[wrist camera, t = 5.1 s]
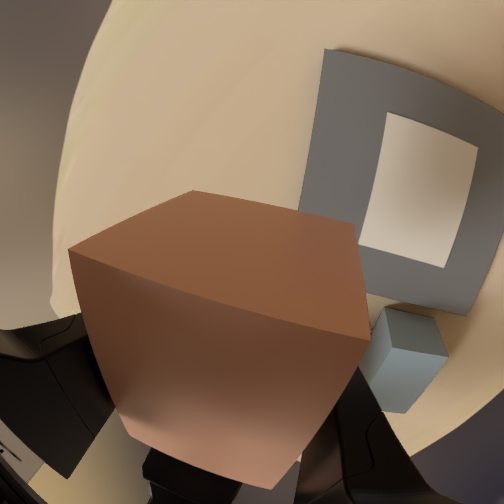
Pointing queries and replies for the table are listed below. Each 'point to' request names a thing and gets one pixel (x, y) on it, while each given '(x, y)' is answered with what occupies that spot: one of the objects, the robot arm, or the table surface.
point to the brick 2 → (402, 358)
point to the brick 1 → (224, 328)
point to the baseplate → (408, 179)
